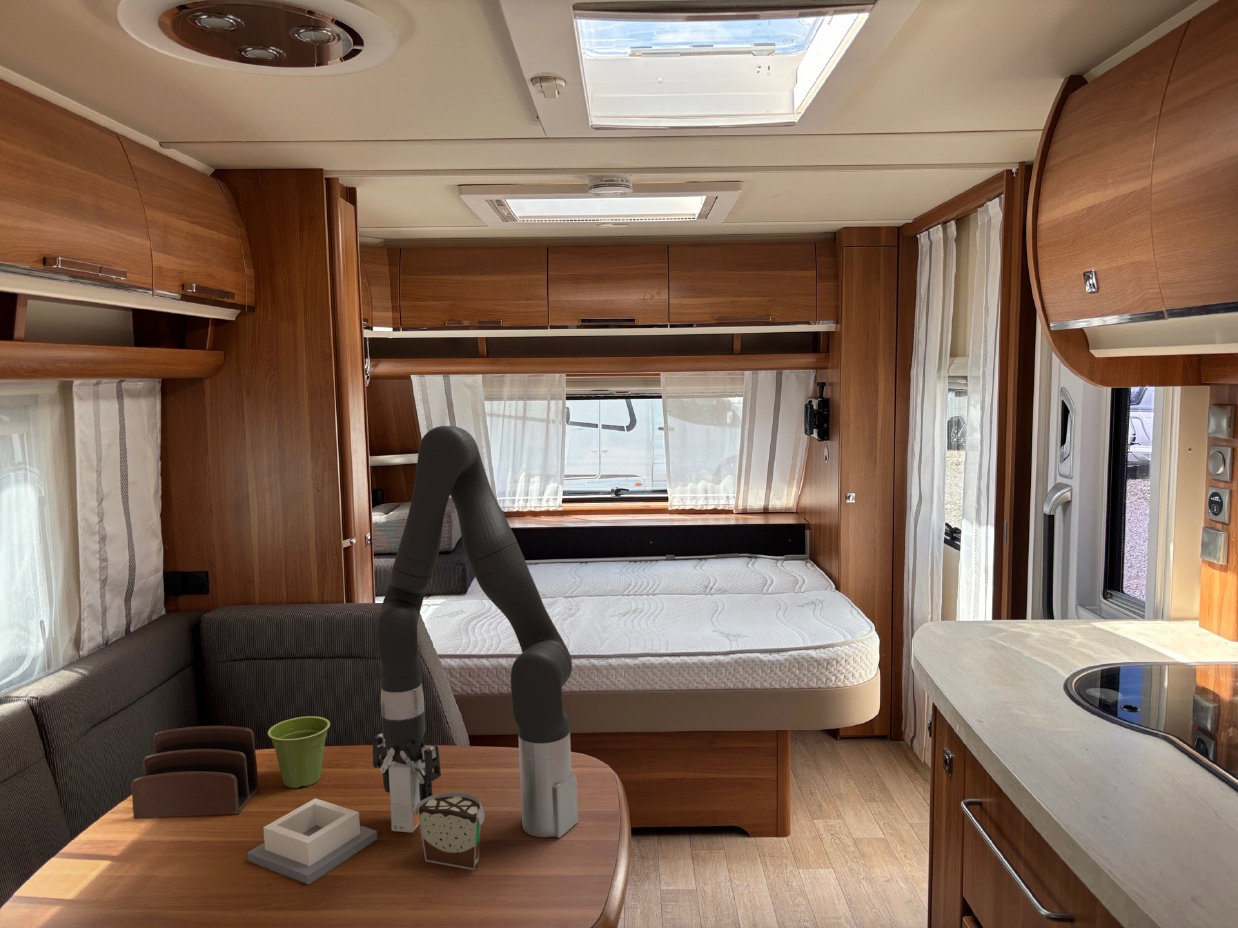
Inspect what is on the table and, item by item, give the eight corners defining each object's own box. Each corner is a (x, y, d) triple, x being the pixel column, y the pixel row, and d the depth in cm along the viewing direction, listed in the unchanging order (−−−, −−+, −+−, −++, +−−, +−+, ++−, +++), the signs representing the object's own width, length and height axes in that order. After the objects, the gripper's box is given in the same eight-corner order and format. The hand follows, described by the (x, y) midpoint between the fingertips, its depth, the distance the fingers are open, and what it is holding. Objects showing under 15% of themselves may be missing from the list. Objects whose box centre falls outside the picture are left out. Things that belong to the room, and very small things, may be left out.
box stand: (377, 838, 148) (375, 809, 148) (308, 884, 135) (306, 852, 135) (318, 819, 156) (316, 790, 155) (247, 860, 143) (245, 829, 142)
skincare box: (413, 833, 150) (409, 769, 149) (391, 831, 151) (387, 767, 150) (427, 815, 156) (424, 754, 155) (406, 814, 157) (402, 752, 155)
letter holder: (160, 793, 168) (154, 726, 167) (260, 790, 168) (255, 722, 167) (132, 819, 158) (126, 748, 157) (238, 815, 158) (233, 744, 157)
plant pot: (321, 793, 166) (317, 738, 164) (261, 795, 166) (257, 740, 165) (341, 766, 177) (338, 714, 176) (286, 767, 178) (282, 716, 176)
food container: (500, 851, 143) (497, 795, 142) (482, 871, 138) (479, 813, 137) (437, 840, 147) (433, 785, 146) (417, 859, 142) (414, 803, 141)
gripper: (447, 708, 151) (451, 794, 153) (389, 696, 158) (394, 778, 160) (418, 724, 144) (423, 814, 146) (358, 710, 151) (364, 796, 153)
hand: (407, 795), depth 153 cm, fingers open, 8 cm apart
